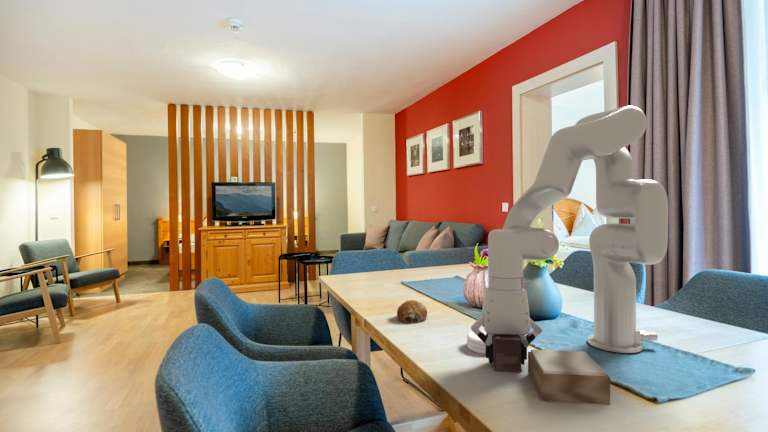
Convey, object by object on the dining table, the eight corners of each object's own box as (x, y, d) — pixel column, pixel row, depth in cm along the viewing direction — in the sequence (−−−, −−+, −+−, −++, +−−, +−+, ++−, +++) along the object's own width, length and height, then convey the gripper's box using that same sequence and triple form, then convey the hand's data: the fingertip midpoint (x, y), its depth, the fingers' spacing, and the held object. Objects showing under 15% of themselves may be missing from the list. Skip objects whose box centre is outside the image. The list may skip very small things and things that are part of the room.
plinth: (586, 376, 86) (586, 350, 86) (610, 404, 74) (610, 374, 74) (528, 374, 87) (527, 348, 87) (542, 400, 75) (541, 371, 75)
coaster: (459, 345, 107) (459, 332, 107) (490, 340, 111) (490, 327, 111) (482, 358, 98) (481, 343, 98) (515, 352, 101) (515, 338, 101)
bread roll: (430, 329, 132) (434, 305, 135) (416, 323, 124) (421, 298, 127) (403, 325, 137) (408, 302, 140) (389, 319, 129) (394, 294, 132)
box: (521, 372, 88) (521, 339, 88) (493, 371, 90) (493, 338, 89) (518, 362, 94) (517, 331, 94) (491, 360, 95) (491, 329, 95)
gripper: (541, 281, 94) (541, 357, 94) (465, 280, 96) (466, 354, 97) (549, 287, 87) (550, 370, 87) (467, 286, 89) (468, 367, 89)
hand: (506, 361), depth 92 cm, fingers closed on box, 6 cm apart
